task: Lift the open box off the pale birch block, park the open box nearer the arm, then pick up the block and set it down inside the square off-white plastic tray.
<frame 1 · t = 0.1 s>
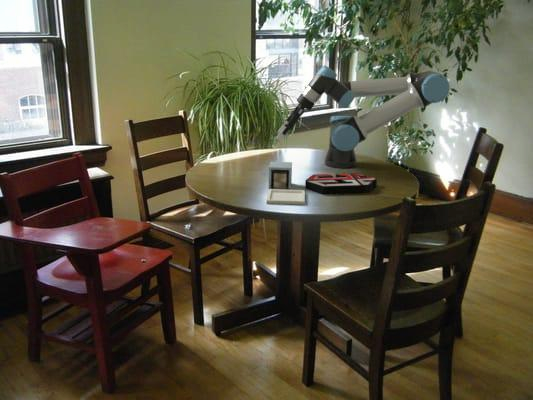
hand: (279, 136, 238), 15 cm above the table, tool tilted 35°, fingers open, 13 cm apart
emblem: (341, 188, 218), on the table
tray: (286, 198, 203), on the table
block: (280, 179, 218), in the open box
open box: (280, 186, 219), on the table
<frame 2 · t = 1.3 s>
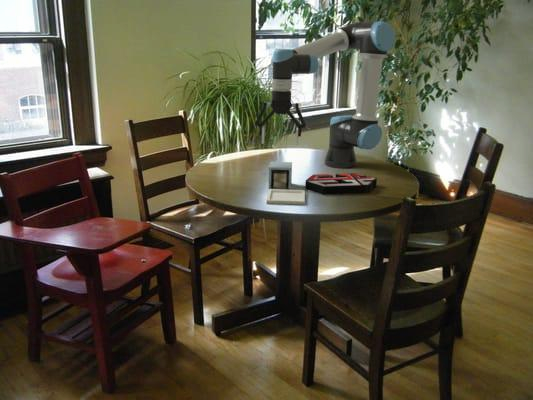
hand: (279, 143, 214), 18 cm above the table, tool pointing down, fingers open, 13 cm apart
nothing on the table moved.
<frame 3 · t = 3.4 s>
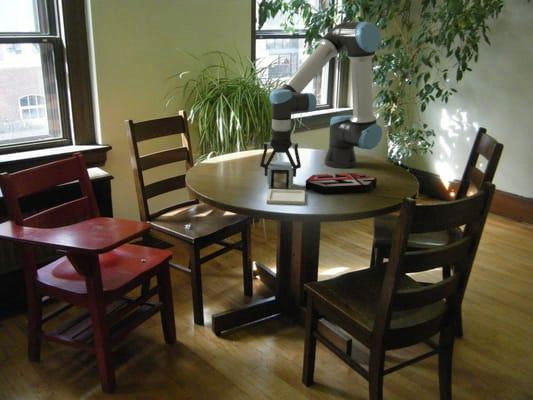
hand: (280, 183, 218), 1 cm above the table, tool pointing down, fingers closed on open box, 9 cm apart
open box: (280, 186, 219), on the table, touching gripper
everything else where it was.
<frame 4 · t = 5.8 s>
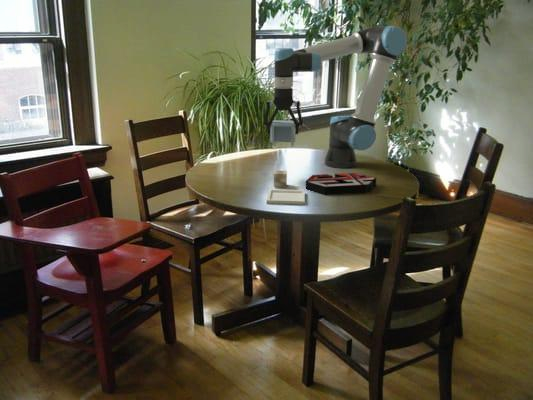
hand: (282, 141, 225), 16 cm above the table, tool pointing down, fingers closed on open box, 9 cm apart
open box: (282, 143, 225), point 15 cm above the table, touching gripper
everything else where it was.
when the fingers open (2 cm above the table, at t = 8.5 s): open box drops 1 cm, on the table.
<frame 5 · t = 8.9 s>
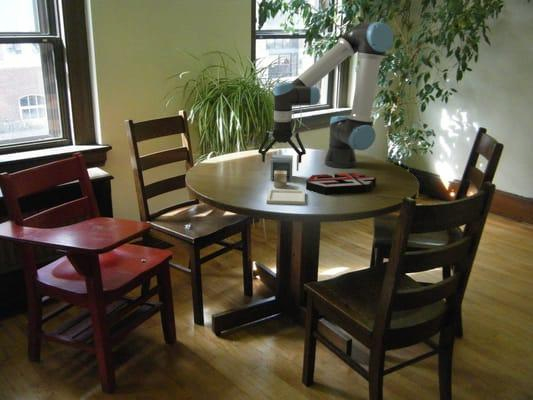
hand: (281, 169, 229), 4 cm above the table, tool pointing down, fingers open, 13 cm apart
open box: (281, 178, 230), on the table
everything else where it was.
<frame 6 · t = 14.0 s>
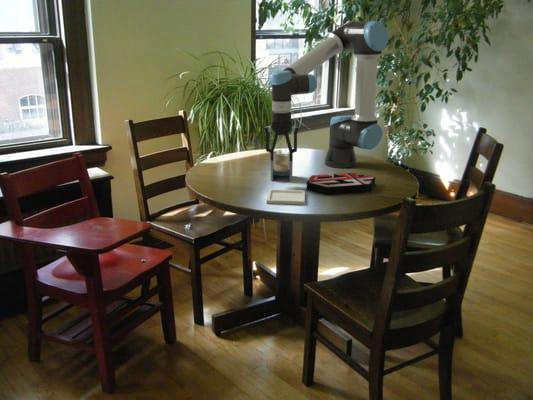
hand: (281, 168, 217), 7 cm above the table, tool pointing down, fingers closed on block, 5 cm apart
block: (281, 162, 216), point 10 cm above the table, touching gripper
everything else where it was.
when the fingers open (1 cm above the table, at t = 18.3 s): block stays where it is, resting on tray.
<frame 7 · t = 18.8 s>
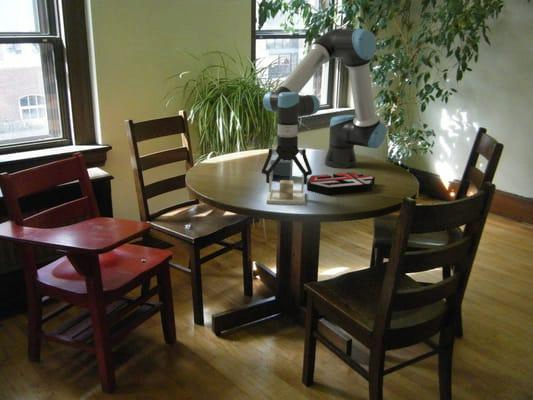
hand: (286, 191, 202), 3 cm above the table, tool pointing down, fingers open, 11 cm apart
block: (286, 189, 202), resting on tray
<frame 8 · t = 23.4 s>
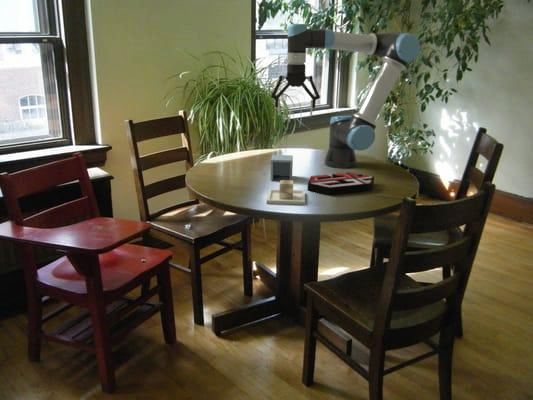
hand: (294, 115, 224), 27 cm above the table, tool pointing down, fingers open, 13 cm apart
at the end: block inside the target area on the tray (0.1 cm from its centre), point 3.5 cm above the tray's base; block tilted 0°; open box moved 12.0 cm from its start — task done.
